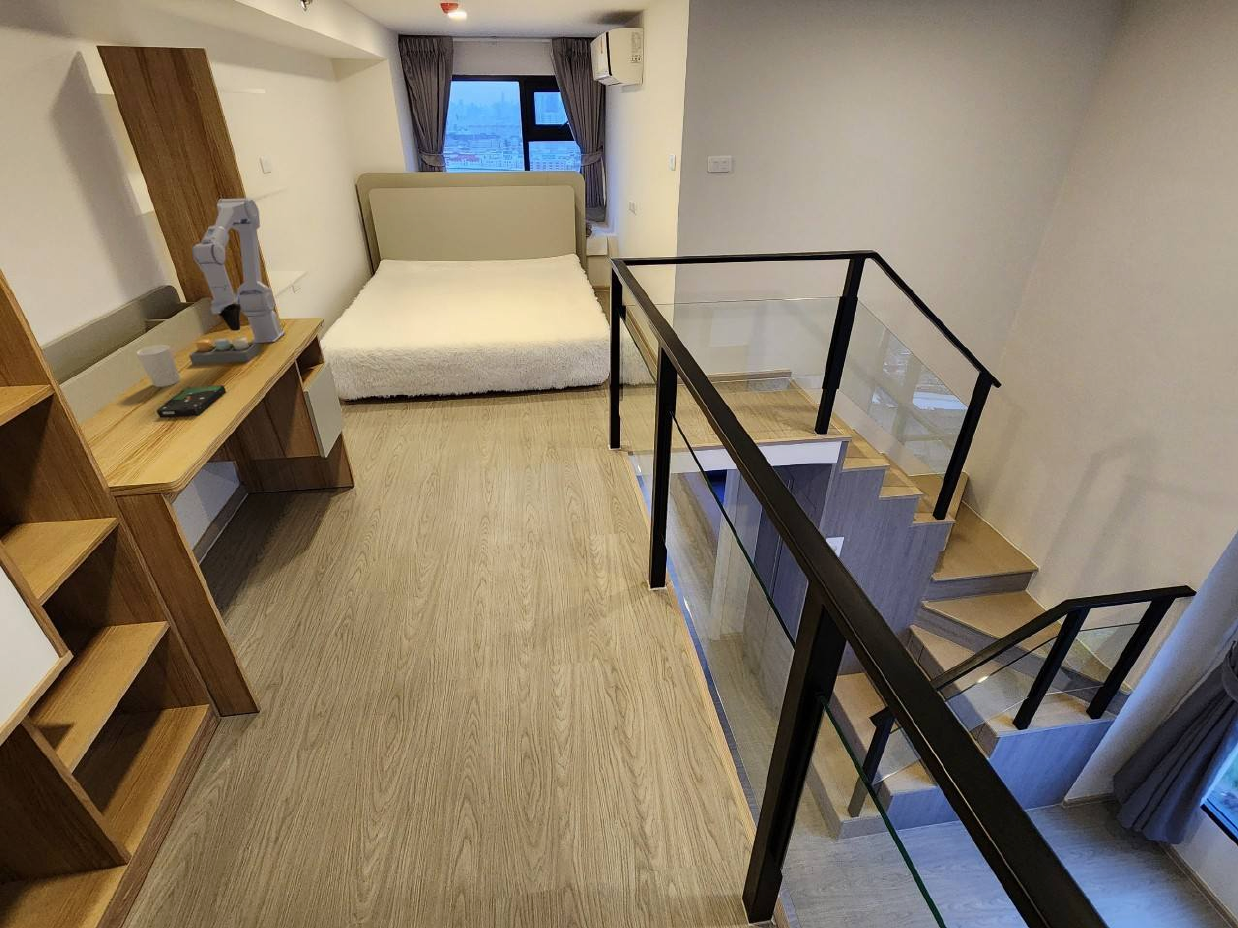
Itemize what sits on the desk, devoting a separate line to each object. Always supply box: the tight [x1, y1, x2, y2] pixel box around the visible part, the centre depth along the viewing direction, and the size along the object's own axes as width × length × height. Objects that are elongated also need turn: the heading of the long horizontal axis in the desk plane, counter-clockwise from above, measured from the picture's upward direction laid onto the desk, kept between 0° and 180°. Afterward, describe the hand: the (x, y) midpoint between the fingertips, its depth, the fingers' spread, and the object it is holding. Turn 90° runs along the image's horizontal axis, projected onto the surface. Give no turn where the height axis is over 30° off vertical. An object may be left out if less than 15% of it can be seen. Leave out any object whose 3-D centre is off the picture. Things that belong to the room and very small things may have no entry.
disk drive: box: [156, 384, 227, 419], centre depth 168 cm, size 10×3×15 cm
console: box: [188, 341, 262, 366], centre depth 198 cm, size 9×17×3 cm, turn 94°
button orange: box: [195, 338, 213, 352], centre depth 196 cm, size 4×4×3 cm
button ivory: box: [232, 336, 249, 350], centre depth 197 cm, size 4×4×3 cm
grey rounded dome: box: [213, 338, 231, 351], centre depth 196 cm, size 4×4×3 cm
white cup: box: [136, 344, 181, 388], centre depth 180 cm, size 8×8×10 cm
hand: (235, 329), depth 194 cm, fingers closed
